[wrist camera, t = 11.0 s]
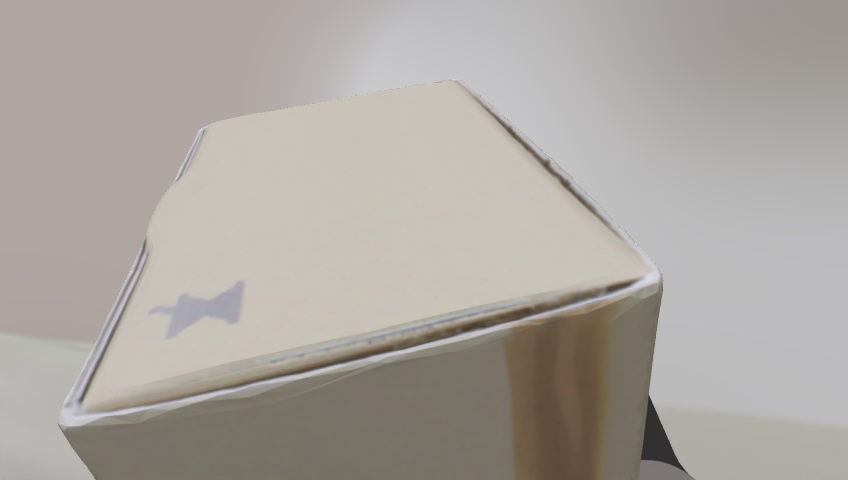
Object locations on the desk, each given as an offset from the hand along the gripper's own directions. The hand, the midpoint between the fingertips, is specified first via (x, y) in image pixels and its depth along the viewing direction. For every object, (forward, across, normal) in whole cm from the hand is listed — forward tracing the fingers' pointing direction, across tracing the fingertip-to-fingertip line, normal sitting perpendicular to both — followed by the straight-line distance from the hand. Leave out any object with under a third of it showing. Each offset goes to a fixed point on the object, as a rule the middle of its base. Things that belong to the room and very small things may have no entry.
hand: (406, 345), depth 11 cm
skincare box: (-3, 0, +7) cm, 8 cm away
